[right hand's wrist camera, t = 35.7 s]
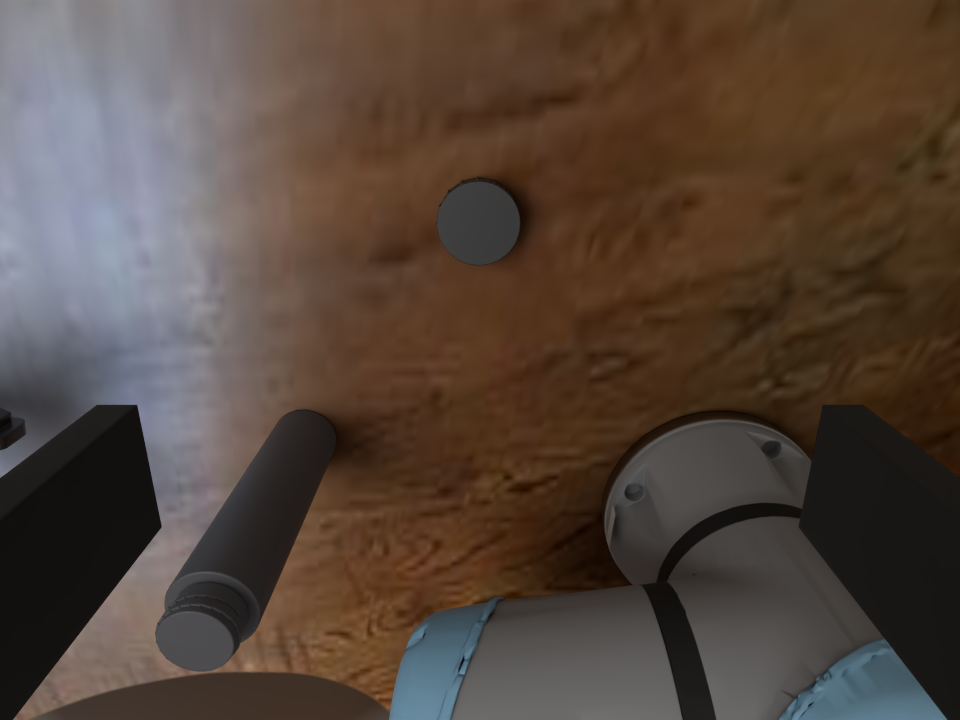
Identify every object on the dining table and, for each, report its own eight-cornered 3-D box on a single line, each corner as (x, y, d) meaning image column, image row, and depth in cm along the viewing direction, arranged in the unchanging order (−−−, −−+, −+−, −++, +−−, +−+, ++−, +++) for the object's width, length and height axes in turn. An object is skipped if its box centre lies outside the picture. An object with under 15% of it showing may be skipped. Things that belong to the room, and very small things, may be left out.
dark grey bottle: (304, 397, 45) (189, 584, 27) (349, 440, 46) (267, 646, 28) (261, 434, 46) (122, 638, 28) (306, 476, 47) (200, 696, 29)
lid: (449, 266, 42) (447, 274, 40) (429, 187, 40) (427, 191, 38) (526, 249, 41) (528, 256, 39) (509, 168, 40) (511, 171, 37)
